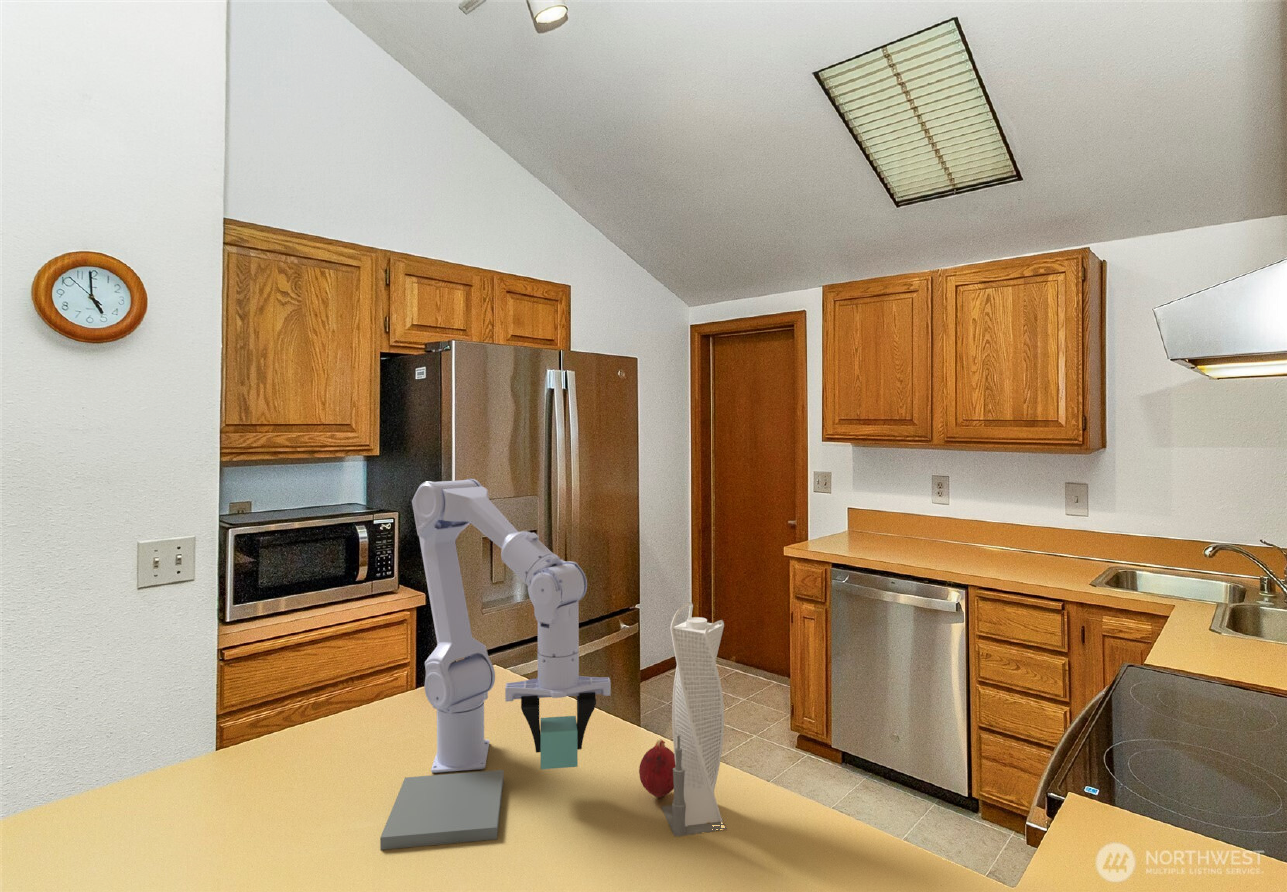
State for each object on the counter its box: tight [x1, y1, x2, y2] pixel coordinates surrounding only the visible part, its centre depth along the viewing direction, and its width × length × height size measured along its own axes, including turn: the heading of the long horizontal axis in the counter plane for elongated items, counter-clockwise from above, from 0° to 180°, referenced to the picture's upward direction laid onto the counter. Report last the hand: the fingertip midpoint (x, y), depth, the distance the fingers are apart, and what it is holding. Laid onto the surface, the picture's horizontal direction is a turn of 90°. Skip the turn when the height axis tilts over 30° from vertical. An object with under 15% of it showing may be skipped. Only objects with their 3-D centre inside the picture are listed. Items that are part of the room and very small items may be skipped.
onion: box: [638, 738, 676, 799], centre depth 94 cm, size 6×6×8 cm
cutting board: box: [379, 769, 505, 851], centre depth 91 cm, size 15×14×2 cm
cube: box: [540, 715, 579, 770], centre depth 94 cm, size 5×5×5 cm
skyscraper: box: [661, 602, 728, 838], centre depth 90 cm, size 8×8×28 cm
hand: (558, 747), depth 94 cm, fingers closed on cube, 5 cm apart
